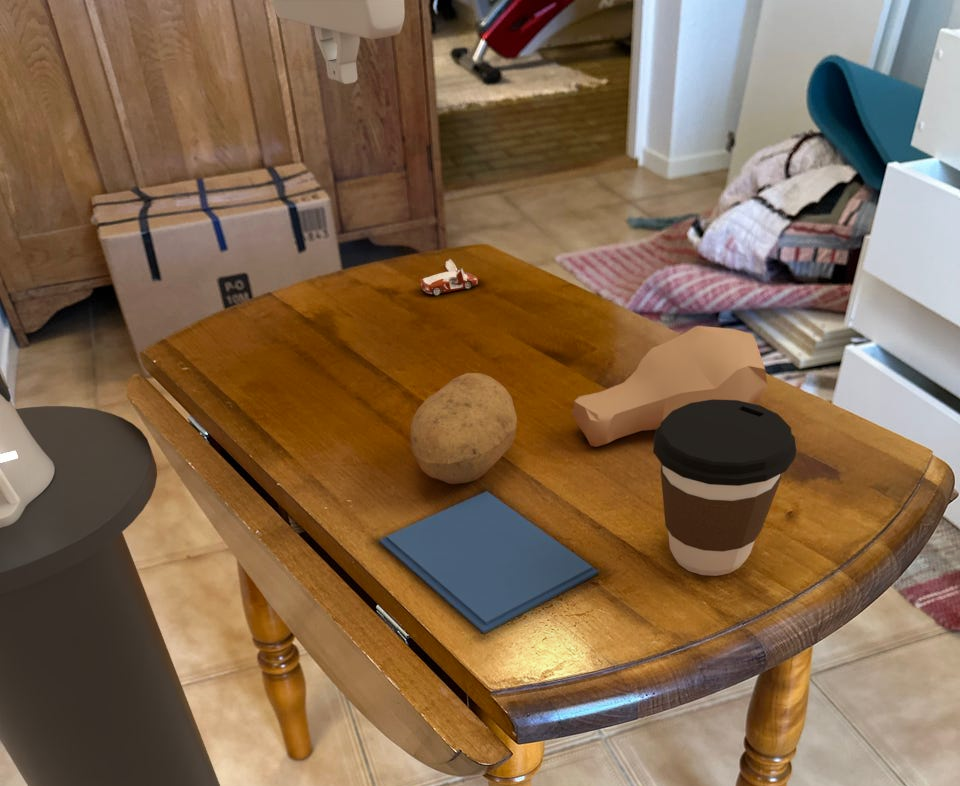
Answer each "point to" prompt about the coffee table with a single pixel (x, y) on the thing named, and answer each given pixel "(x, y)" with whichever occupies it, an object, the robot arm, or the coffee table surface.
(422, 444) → the potato
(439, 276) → the toy car
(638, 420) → the squash
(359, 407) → the coffee table surface
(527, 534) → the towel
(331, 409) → the coffee table surface
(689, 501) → the coffee cup
